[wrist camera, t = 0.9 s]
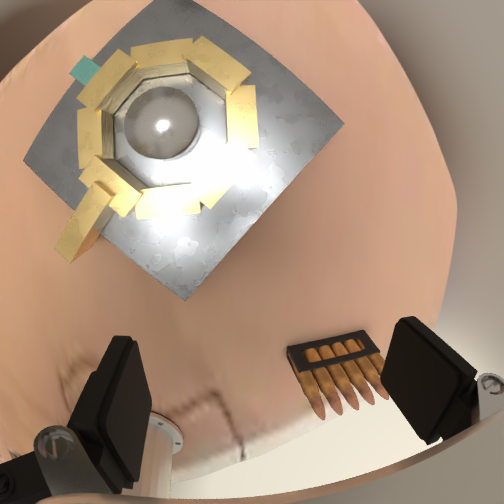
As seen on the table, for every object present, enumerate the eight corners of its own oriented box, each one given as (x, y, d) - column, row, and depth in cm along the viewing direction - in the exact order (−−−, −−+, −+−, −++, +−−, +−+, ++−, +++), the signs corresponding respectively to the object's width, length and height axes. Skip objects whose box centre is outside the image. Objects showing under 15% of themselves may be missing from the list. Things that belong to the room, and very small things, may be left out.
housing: (187, 293, 30) (181, 320, 25) (27, 154, 24) (-4, 155, 18) (336, 126, 27) (363, 118, 22) (164, -8, 20) (157, -36, 15)
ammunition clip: (364, 329, 35) (411, 385, 24) (362, 340, 36) (407, 396, 24) (286, 346, 34) (314, 416, 23) (286, 358, 35) (313, 427, 23)
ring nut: (142, 288, 27) (129, 312, 23) (36, 196, 23) (9, 203, 18) (286, 120, 25) (302, 111, 20) (166, 28, 20) (158, 4, 16)
